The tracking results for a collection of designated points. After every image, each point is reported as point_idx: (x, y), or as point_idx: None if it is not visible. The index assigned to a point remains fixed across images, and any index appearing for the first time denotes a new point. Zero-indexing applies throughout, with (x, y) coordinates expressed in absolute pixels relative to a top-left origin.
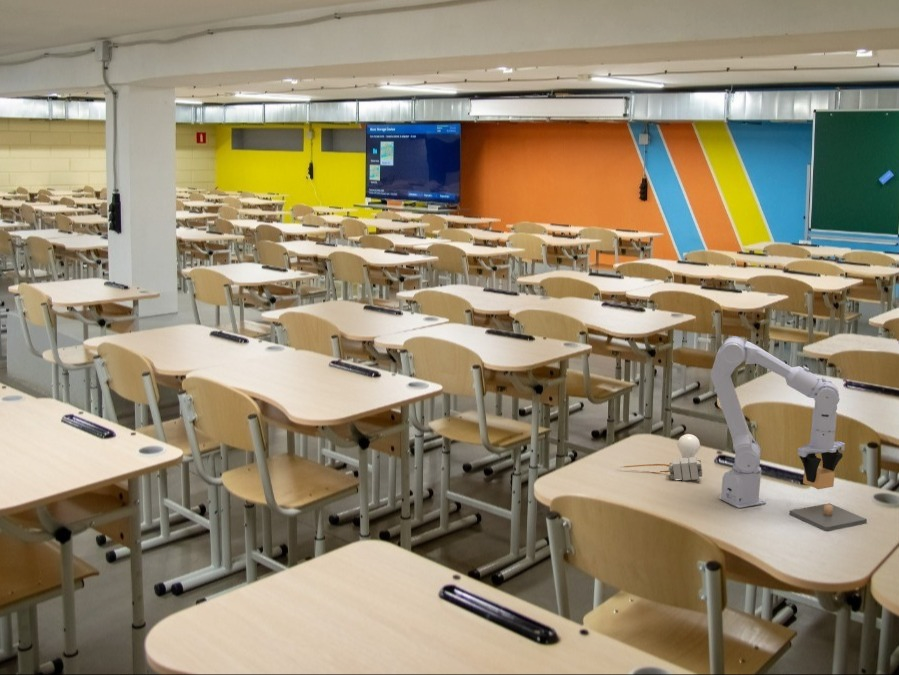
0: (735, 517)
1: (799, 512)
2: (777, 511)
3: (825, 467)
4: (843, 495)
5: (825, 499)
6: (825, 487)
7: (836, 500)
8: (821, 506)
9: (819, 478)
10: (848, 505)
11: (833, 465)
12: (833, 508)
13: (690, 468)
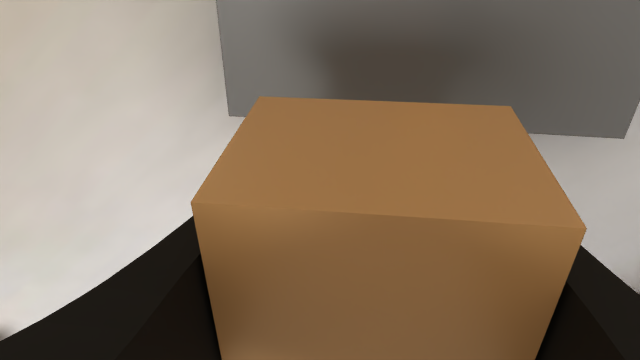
0: None
1: (600, 80)
2: (619, 192)
3: (209, 356)
4: (29, 190)
5: (170, 194)
6: (391, 105)
7: (115, 158)
8: (330, 97)
9: (557, 186)
10: (91, 70)
11: (140, 321)
12: (278, 28)
13: None
